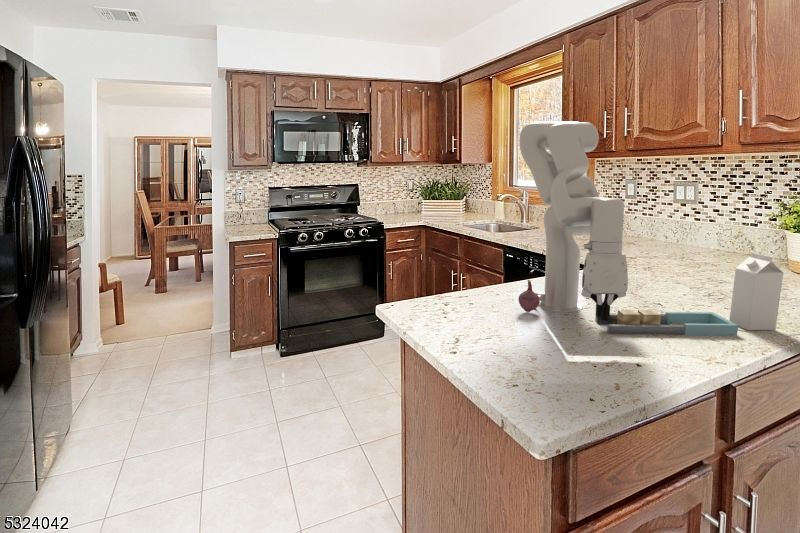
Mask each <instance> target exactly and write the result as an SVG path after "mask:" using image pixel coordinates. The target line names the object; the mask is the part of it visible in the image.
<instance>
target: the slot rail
mask: <svg viewBox="0 0 800 533" xmlns="http://www.w3.org/2000/svg"><path fill="white" fill-rule="evenodd" d="M660 314H661V320H660V325H636V324H617V318H618V312H615V313H611V312H610V316H608V320H600V319H599V318H598V317H597V316H596V315H595V318H594V320H595V322H596V323H597V324H598V325H600V327H601V328H602V329H603V330H604V331H605V332H606V334H608V335H655V336H656V335H659V336H660V335H662V336H663V335H666V336H667V335H668V336H669V335H671V336H672V335H673V336H674V335H675V336H676V335H677V336H686V335H685V331H686V327H685V326H684V324H670V323H667V321H668V315H666V314H665V313H660Z"/></svg>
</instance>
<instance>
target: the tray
mask: <svg viewBox="0 0 800 533" xmlns="http://www.w3.org/2000/svg"><path fill="white" fill-rule="evenodd" d="M664 314H666V315H668V321H667V323H668V324H670V323H673V324H674V323H676V324H677V323H679V324H680V323H681V324H683V325H684V326H685V327H686V331H685V335H684V336H738V330H739V326H738V325H736V324H735V323H733V322H731V321H729V320H730V319H726V318H725V317H723V316H721V315H719V314H717V313H715V312H712V311H711V312H710V311H709V312H708V311H707V312H705V311H703V312H701V311H699V312H698V311H694V312H692V311H689V312H688V311H665V313H664Z"/></svg>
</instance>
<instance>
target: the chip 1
mask: <svg viewBox="0 0 800 533" xmlns="http://www.w3.org/2000/svg"><path fill="white" fill-rule="evenodd" d="M617 313H618V318H617V324H636V325H639V324H640V314H639V313H638V311H636V310H634V309H617Z"/></svg>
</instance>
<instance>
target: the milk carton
mask: <svg viewBox="0 0 800 533" xmlns="http://www.w3.org/2000/svg"><path fill="white" fill-rule="evenodd" d="M783 277H784V272H783V271H782V270H781V269H780V267H778V266H777V265H776V264H775V263H774V262H773V256H768V255H763V254H759V253H754V252H749V257H748V258H746V259H745V260H743V261H742V262H741V263H740V264H739V265H738V266H736V267H735V271H734V279H733V288H732V297H731V304H730V305H731V306H730V312H729V319H728V320H729V321H731V322H733V323H735V324H736V325H738V328H739V327H740V328H741V329H744V330H747V331H771V330H772V331H773V330H776V329H777V322H778V321H777V320H778V315H779V308H780V300H781V294H782V286H783Z"/></svg>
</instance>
